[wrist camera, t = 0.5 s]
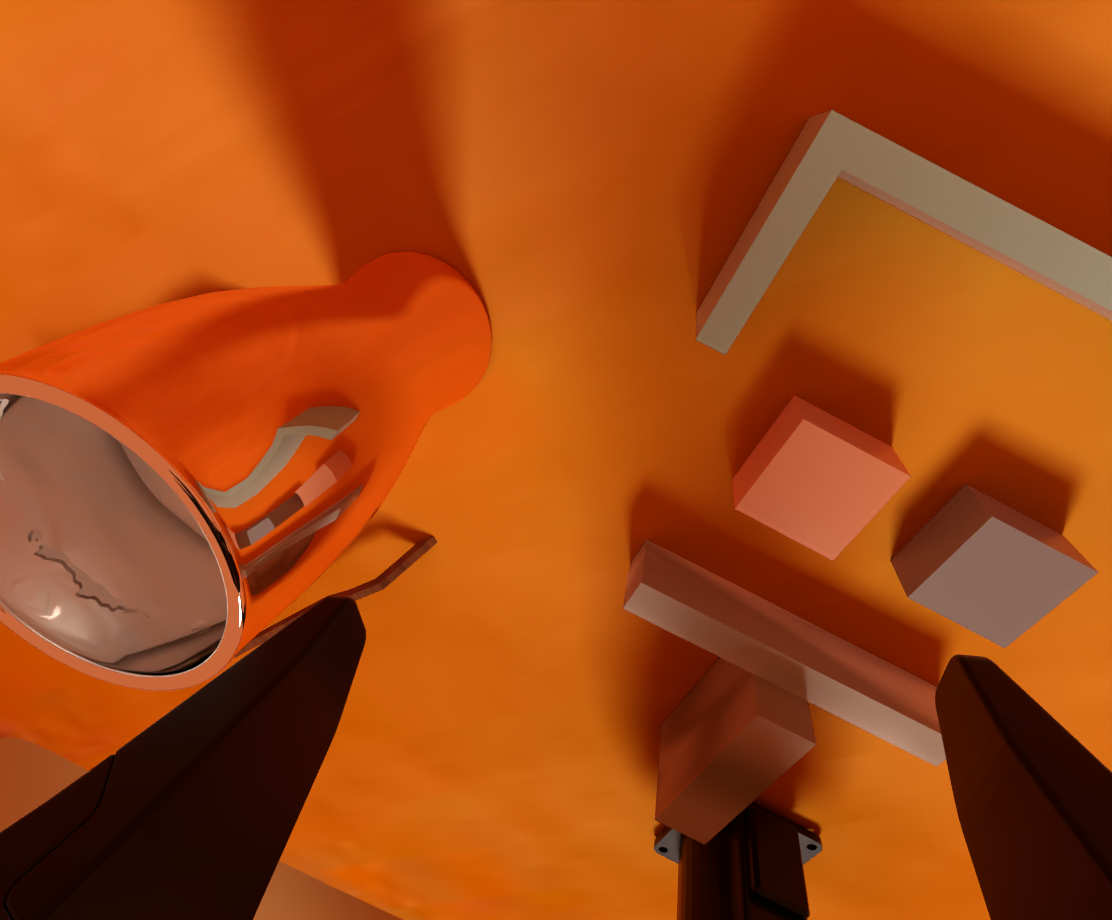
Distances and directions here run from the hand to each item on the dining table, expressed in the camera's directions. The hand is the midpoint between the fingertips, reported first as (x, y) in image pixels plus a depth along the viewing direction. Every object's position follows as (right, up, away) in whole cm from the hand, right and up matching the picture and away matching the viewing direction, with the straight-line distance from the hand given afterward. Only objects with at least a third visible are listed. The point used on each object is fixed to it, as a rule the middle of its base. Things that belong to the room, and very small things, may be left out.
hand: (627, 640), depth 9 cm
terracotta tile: (+8, +3, +14) cm, 16 cm away
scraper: (+7, -7, +19) cm, 21 cm away
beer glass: (-6, +8, +15) cm, 18 cm away
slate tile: (+15, 0, +14) cm, 20 cm away
